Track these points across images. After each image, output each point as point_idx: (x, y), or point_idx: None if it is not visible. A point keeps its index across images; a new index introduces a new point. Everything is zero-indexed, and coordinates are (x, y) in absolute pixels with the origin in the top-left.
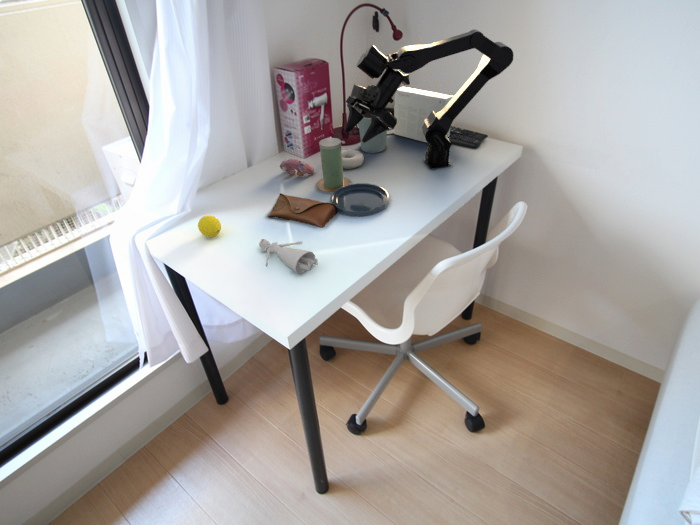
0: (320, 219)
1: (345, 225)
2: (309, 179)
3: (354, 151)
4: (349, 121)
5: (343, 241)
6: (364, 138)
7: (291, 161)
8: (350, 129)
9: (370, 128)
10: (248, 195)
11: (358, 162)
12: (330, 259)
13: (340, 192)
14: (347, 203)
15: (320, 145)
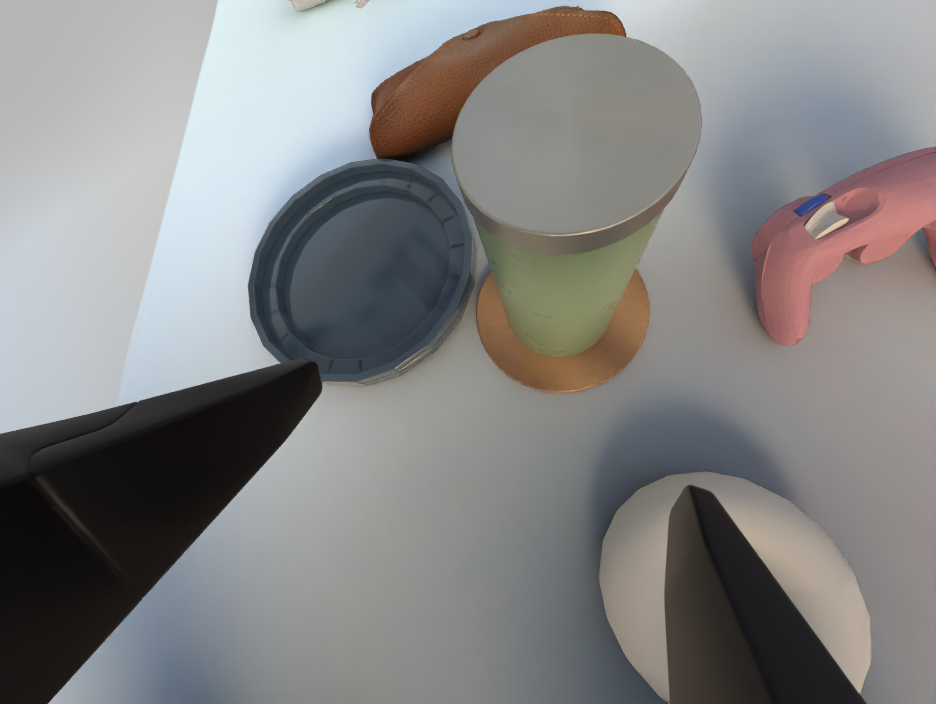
0: (383, 87)
1: (330, 156)
2: (722, 281)
3: None
4: (752, 658)
5: (293, 108)
6: (268, 368)
7: (905, 163)
8: (669, 582)
9: (89, 418)
10: (816, 16)
11: (601, 566)
12: (281, 51)
13: (457, 255)
14: (394, 233)
15: (598, 41)
